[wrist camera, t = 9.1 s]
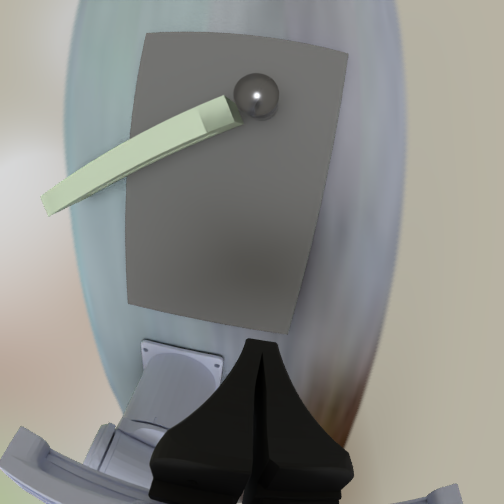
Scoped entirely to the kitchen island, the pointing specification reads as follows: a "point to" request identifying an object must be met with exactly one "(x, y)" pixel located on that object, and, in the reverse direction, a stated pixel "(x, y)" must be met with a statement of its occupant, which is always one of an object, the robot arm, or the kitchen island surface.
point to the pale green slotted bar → (144, 151)
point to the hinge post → (257, 96)
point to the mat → (230, 180)
